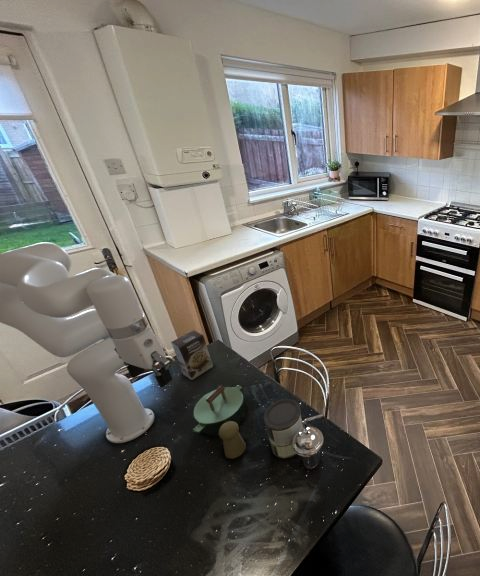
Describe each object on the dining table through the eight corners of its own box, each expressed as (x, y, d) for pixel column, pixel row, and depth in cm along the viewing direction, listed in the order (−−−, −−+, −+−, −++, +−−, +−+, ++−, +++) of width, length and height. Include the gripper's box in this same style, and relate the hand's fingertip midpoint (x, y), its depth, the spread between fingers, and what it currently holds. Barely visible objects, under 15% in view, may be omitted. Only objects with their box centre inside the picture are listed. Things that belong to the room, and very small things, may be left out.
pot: (183, 436, 98) (177, 423, 95) (227, 392, 114) (223, 379, 111) (218, 449, 95) (213, 435, 92) (258, 402, 110) (255, 389, 107)
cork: (238, 461, 91) (230, 437, 86) (220, 457, 92) (211, 433, 87) (250, 443, 97) (243, 419, 91) (233, 439, 98) (225, 416, 92)
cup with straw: (305, 445, 96) (297, 400, 86) (332, 453, 94) (327, 408, 84) (291, 472, 89) (281, 426, 79) (319, 481, 87) (313, 435, 77)
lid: (183, 418, 97) (177, 403, 94) (218, 385, 110) (214, 371, 106) (221, 431, 94) (215, 416, 90) (253, 395, 106) (249, 381, 103)
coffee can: (264, 453, 94) (255, 422, 87) (284, 425, 102) (278, 395, 96) (293, 464, 91) (286, 433, 84) (311, 434, 99) (307, 404, 93)
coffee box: (192, 380, 119) (179, 347, 111) (182, 374, 122) (169, 341, 114) (214, 366, 126) (203, 334, 118) (204, 360, 129) (193, 329, 121)
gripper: (169, 324, 74) (189, 376, 83) (117, 311, 79) (141, 362, 87) (139, 343, 68) (164, 397, 76) (84, 327, 73) (114, 381, 81)
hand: (152, 378), depth 82 cm, fingers open, 9 cm apart
